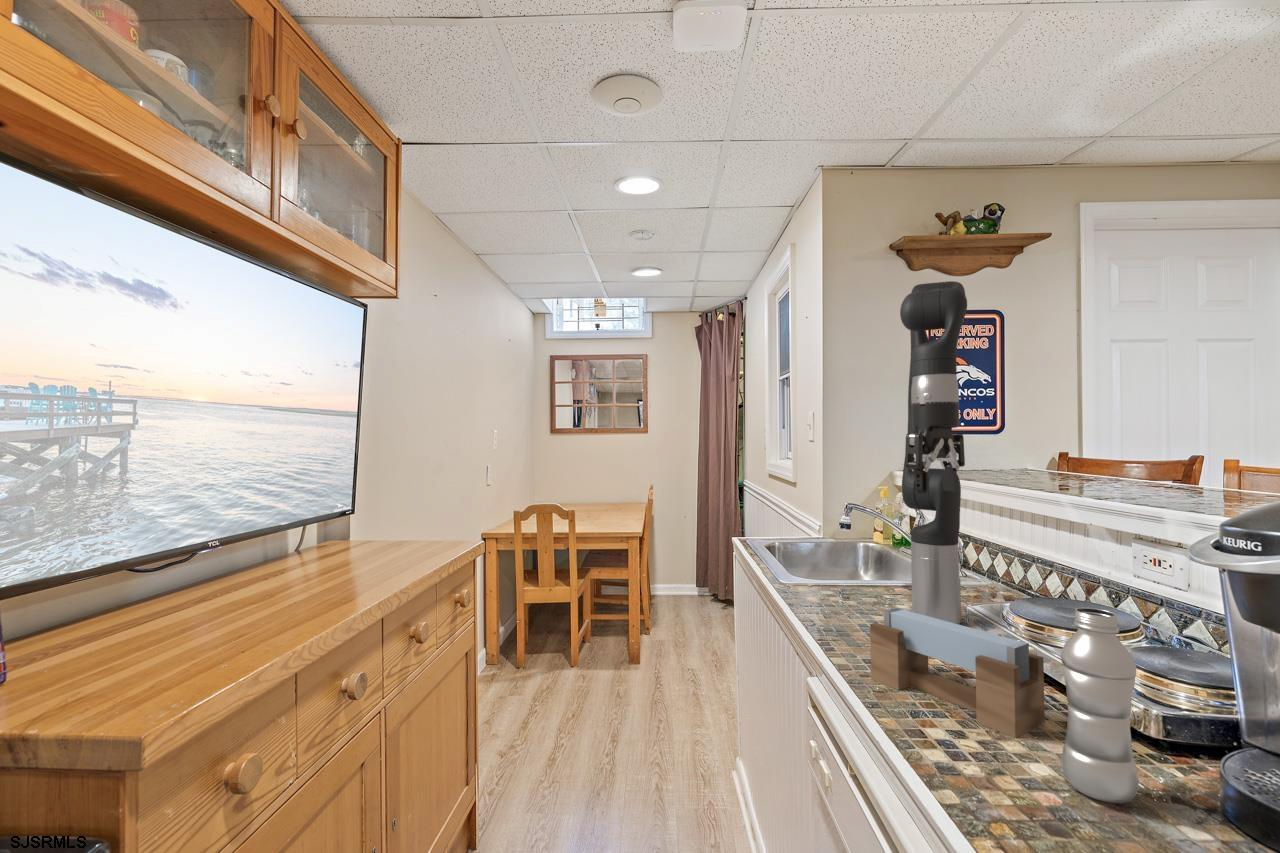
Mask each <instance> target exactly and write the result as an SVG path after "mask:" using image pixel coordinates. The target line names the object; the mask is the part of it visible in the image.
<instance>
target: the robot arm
mask: <svg viewBox="0 0 1280 853" xmlns="http://www.w3.org/2000/svg"><path fill="white" fill-rule="evenodd" d="M967 309H968V299H967V296H966V290H965V287H964V285H963V284H962V283H961V282H958V281H940V282H939V281H938V282H928V283H927V282H926V283H921V284H920V283H919V284H916V285H914V287H913V288H912V289H911V293H909V294H907V295H906V296H905V297H904V299H903V301H902V302H901V305H900V310H899V312H900V313H899V316H900V321H901V322H902V324H903V326H904V327H905V328H906V329H907V330H908V331H909V332H910V362H909V377H908V386H907V387H908V391H907V394H908V395H907V434H905V449H904V450H905V454H904V461H903V462H904V463H903V469H902V478H901V495H902V498H903V499H902V500H903V502H904V504H905V506H906V507H908V508H909V509H911V510H912V509H913V510H923V511H933V512H935V516H934V519H933V520H932V521H930V522H928V523H926V524H919V525H915V526H914V527H912V528H911V530H910V553H911V554H910V556H911V557H910V558H911V563H910V564H911V612H914V613H918V614H921V615H925V616H929V617H932V618H936V619H940V620H943V621H947V622H951V623H954V624H958V625H961V622H962V603H961V602H962V599H961V598H962V594H961V591H962V590H961V586H962V585H961V578H960V569H959V568H960V564H959V563H960V561H959V560H960V558H959V533H960V526H961V519H960V518H961V501H962V500H961V499H962V495H961V494H962V486H961V480H960V477H959V475H958V471H959V470H960V468H962V467H965V466H966V462H965V460H966V459H965V457H966V456H965V443H964V442H965V440H964V439H965V438H964V434H963V433H953V431H952V429H954V428H955V429H956V428H958V427H959V425H960V401H959V400H960V398H959V397H960V395H959V394H960V393H959V383H958V375H957V366H958V365H957V350H958V344H959V343H958V342H959V338H960V333H961V331H962V326H963V324H964V320H965V317H966V315H967ZM933 330H944V331H943V333H942V334H941V335H940V336H939V337H938V338H936V339H933V340H930V339H929V336H928V334H927V332H926V331H933ZM957 458H958V459H957ZM935 461H937V462H939V463H940V465H941V467H942V468H934V467H933V468H931V464H932V463H934V462H935Z"/></svg>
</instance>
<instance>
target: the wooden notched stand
mask: <svg viewBox="0 0 1280 853" xmlns="http://www.w3.org/2000/svg"><path fill="white" fill-rule="evenodd" d="M869 627H870V628H869V630H870V631H869V632H870V635H869V637H870V643H869V644H870V680H872V681H874V682H876V683H879V684H881V685H884V686H886V687H889V688H892V689H893V690H894V689H895V690H897V691H901V690H904V689H906V688H908V687H911V688H914V689H916V690H919V691H921V692H924V693H926V694H929V695H931V696H934V697H936V698H940V699H941V700H944V701H947V702H950V703H952V704H954V705H957V706H960V707H962V708H965V709H968V710H969V711H973V712H975V713H976V723H977V724H980V725H982V726H985V727H988V728H990V729H993V730H995V731H997V732H999V733H1002V734H1005V735H1007V736H1009V737H1012V738H1015V739H1016V738H1018V737H1020V736H1023V735H1024V734H1026V733H1028V732H1029V731H1031V730H1033V729H1035V728H1037V727H1039V726H1041V725H1043V724H1045V723H1046V721H1045V720H1046V718H1045V716H1046V714H1045V713H1046V712H1045V710H1046V709H1045V707H1046V706H1045V671H1044V668H1045V666H1044V664H1045V662H1044V656H1041V655H1038V654H1034V653H1032V652H1031V653H1030V652H1029V678H1030V680H1027V681H1025V682H1023V683H1020V667H1019V666H1016V665H1013V664H1009V663H1006V662H1003V661H1000V660H996V659H993V658H990V657H987V656H983V655H979V656H977V657H975V663H976V672H975V687H972V686H971V685H970V686H969V685H966V684H963V683H961V682H958V681H955V680H953V679H949V678H948V677H944V676H943V675H942V676H941V675H938V674H936V673H933V672H930V671H929V656H926V655H923V654H920V653H917V652H914V651H911V650H908V649H905V648H904V633H903V631H902V630H899V629H895V628H892V627H889V626H886V625H884V624H882V623H878V622H873V623H870V624H869Z"/></svg>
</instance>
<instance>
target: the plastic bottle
mask: <svg viewBox="0 0 1280 853" xmlns="http://www.w3.org/2000/svg"><path fill="white" fill-rule="evenodd" d="M1073 621H1074V622H1073V625H1074V627H1076V628H1077V630H1076V632H1074V633H1073V634H1072V635H1071V636H1070V637H1069V638H1068V639H1067V640H1066V642H1065V643H1064V645H1063V647H1062V650H1061V653H1060V657H1061V658H1060V659H1061V663H1062V670H1063V671H1062V672H1063V676H1064V682H1065V688H1066V701H1067V721H1066V722H1067V725H1066V732H1065V741H1064V744H1063V746H1062V754H1061V760H1060V761H1061V766H1062V772H1063V774H1064V776H1065V778H1066V779H1067V781H1068V783H1069V784H1070V785H1071V786H1072V787H1073V788H1074V790H1077V791H1078V792H1080V793H1082V794H1083V795H1085V796H1087V797H1090V798H1092V799H1095V800H1098V801H1101V802H1104V803H1105V802H1106V803H1109V804H1120V805H1121V804H1123V805H1124V804H1128V803H1130V802H1131V801H1132V800H1133V799H1134V798H1135V797H1136V796H1137V794H1138V789H1139V784H1140V778H1139V773H1138V768H1137V764H1136V760H1135V758H1134V752H1133V751H1134V750H1133V742H1132V733H1131V715H1132V700H1133V693H1134V688H1135V683H1136V676H1137V664H1136V662H1135V659H1134V657H1133V656H1132V654H1131V653H1130V651H1129V650H1128V649H1127V647H1126V646H1125V645H1124V644H1123V643H1122V642H1121V640H1120V639H1119V638H1118V637H1117V634H1119V633H1120V627H1119V626H1118V625H1119V624H1118V615H1117V614H1116V613H1115V612H1113V611H1110V610H1105V609H1101V608H1095V607H1094V608H1093V607H1076V608H1074V620H1073Z"/></svg>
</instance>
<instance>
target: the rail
mask: <svg viewBox="0 0 1280 853" xmlns="http://www.w3.org/2000/svg"><path fill="white" fill-rule="evenodd" d="M883 625H886V626H889V627H892V628H895V629H899V630H902V631H903V633H904V648H905V649H908V650H911V651H914V652H917V653H920V654H923V655H926V656H928V658H929V657H930V658H933V659H935V660H939V661H941V662H945V663H948V664H951V665H954V666H957V667H959V668H962V669H965V670H969V671H971V672H975V673H976V663H975V657H977V656H979V655H983V656H987V657H990V658H993V659H996V660H1000V661H1003V662H1006V663H1009V664H1013V665H1016V666H1019V667H1020V683H1023V682H1025V681H1027V680H1030V678H1029V653H1030V644H1029V642H1026V641H1021V640H1017V639H1013V638H1009V637H1006V636H1002V635H998V634H994V633H991V632H987V631H983V630H979V629H976V628H973V627H968V626H965V625H961V624H960V625H958V624H954V623H951V622H947V621H943V620H940V619H936V618H932V617H929V616H925V615H921V614H918V613H914V612H912V611H911V610H910V611H909V610H906V609H904V608H900V607H897V608H893V609H889V610H885V611H883Z"/></svg>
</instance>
